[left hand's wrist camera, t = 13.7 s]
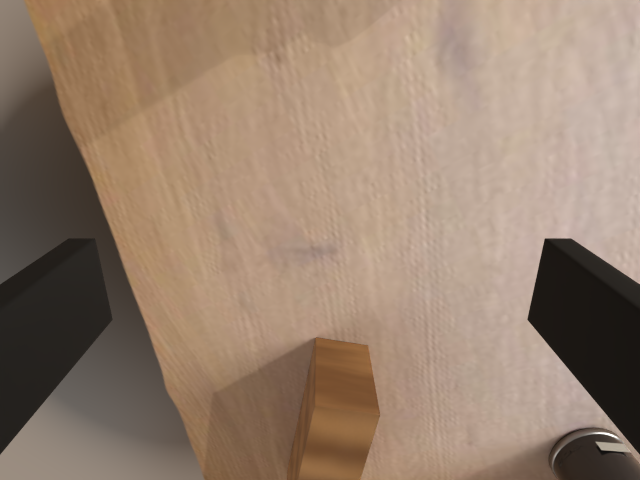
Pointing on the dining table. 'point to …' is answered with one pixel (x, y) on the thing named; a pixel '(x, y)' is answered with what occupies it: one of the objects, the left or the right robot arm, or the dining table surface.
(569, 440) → the right robot arm
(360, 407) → the box
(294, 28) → the dining table surface
